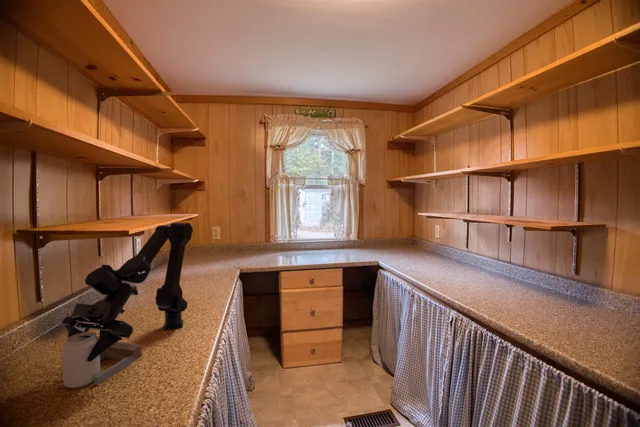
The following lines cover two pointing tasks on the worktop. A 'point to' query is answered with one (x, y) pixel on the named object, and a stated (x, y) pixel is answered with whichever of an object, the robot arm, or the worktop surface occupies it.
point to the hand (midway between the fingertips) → (76, 359)
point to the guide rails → (112, 368)
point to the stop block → (124, 351)
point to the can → (79, 360)
